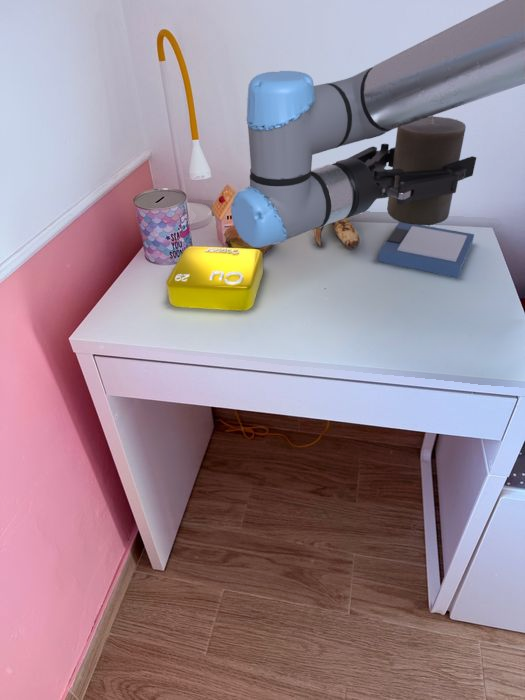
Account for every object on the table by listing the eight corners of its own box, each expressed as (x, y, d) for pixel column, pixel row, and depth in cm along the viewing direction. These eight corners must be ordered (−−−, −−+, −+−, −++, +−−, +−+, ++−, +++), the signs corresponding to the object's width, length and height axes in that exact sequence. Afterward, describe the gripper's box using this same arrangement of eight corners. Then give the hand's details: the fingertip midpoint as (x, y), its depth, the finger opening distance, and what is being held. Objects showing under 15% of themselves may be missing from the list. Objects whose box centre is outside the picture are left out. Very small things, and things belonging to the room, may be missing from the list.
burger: (273, 236, 110) (273, 215, 107) (272, 258, 103) (272, 236, 100) (227, 237, 111) (225, 216, 108) (223, 258, 103) (221, 237, 100)
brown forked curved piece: (306, 221, 117) (321, 257, 102) (306, 201, 114) (321, 235, 99) (347, 217, 117) (368, 252, 103) (348, 197, 114) (369, 230, 100)
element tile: (264, 268, 100) (264, 246, 97) (251, 312, 88) (250, 288, 85) (188, 264, 102) (185, 242, 99) (166, 307, 90) (162, 283, 87)
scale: (471, 245, 105) (474, 232, 103) (458, 277, 95) (461, 263, 93) (398, 232, 110) (399, 219, 108) (378, 261, 100) (379, 248, 99)
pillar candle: (426, 231, 79) (445, 127, 70) (374, 213, 84) (385, 115, 75) (460, 212, 84) (481, 113, 75) (408, 196, 90) (422, 102, 80)
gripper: (287, 194, 81) (389, 163, 91) (393, 246, 66) (500, 202, 76) (287, 145, 76) (394, 117, 86) (401, 188, 62) (514, 149, 72)
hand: (444, 157), depth 81 cm, fingers closed on pillar candle, 10 cm apart
